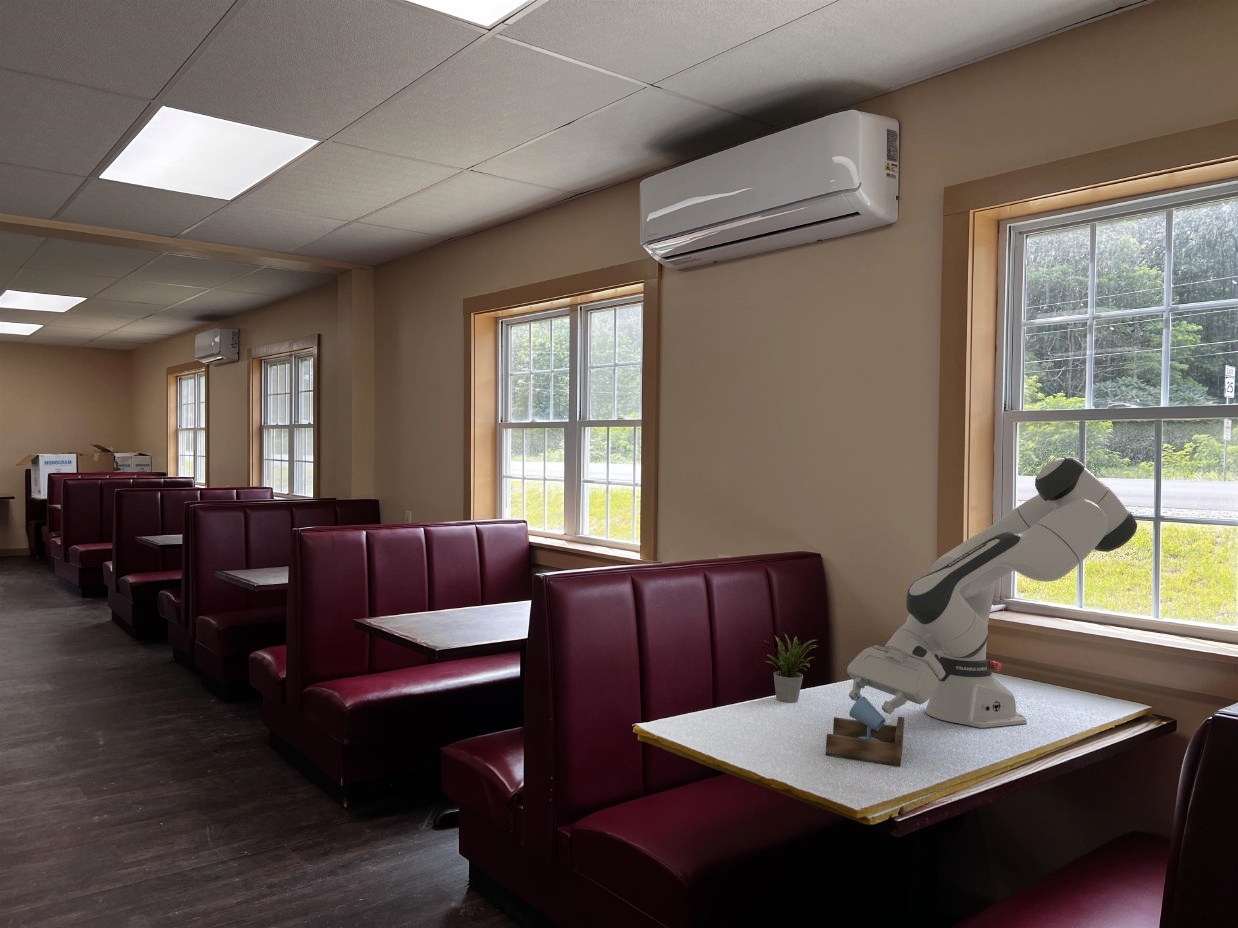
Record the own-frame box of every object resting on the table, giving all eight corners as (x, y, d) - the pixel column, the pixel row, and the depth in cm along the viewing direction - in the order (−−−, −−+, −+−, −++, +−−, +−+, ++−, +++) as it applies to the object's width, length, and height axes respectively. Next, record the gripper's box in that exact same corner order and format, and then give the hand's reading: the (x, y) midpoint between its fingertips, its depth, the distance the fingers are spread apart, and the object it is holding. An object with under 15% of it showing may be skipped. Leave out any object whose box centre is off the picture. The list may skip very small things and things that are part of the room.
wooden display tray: (825, 755, 172) (827, 724, 172) (833, 735, 185) (834, 707, 185) (900, 766, 167) (901, 735, 167) (902, 746, 180) (904, 717, 180)
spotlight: (844, 745, 177) (876, 754, 172) (847, 696, 177) (878, 703, 172) (856, 740, 180) (887, 749, 176) (859, 692, 180) (890, 699, 176)
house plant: (832, 701, 213) (836, 634, 213) (805, 712, 202) (809, 641, 203) (781, 689, 222) (784, 625, 222) (752, 699, 212) (755, 631, 212)
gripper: (864, 633, 190) (826, 681, 185) (937, 654, 172) (897, 708, 167) (878, 653, 192) (841, 701, 188) (952, 676, 174) (913, 729, 169)
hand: (868, 704), depth 177 cm, fingers open, 8 cm apart
